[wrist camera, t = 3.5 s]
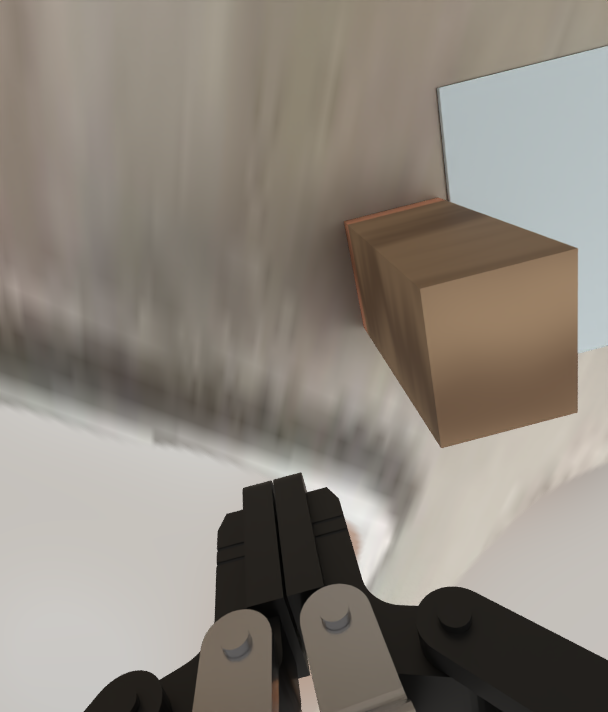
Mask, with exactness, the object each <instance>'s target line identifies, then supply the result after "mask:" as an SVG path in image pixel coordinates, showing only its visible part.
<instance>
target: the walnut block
mask: <svg viewBox="0 0 608 712" xmlns="http://www.w3.org/2000/svg"><path fill="white" fill-rule="evenodd" d="M344 225H345V230H346V235H347V241H348V246H349V251H350V256H351V262H352V267H353V272H354V278H355V283H356V288H357V294H358V299H359V304H360V310H361V315H362V320H363V326H364V328H365V330H366V331H367V333H368V335H369V336H370V338H371V339H372V341H373V342H374V344H375V346H376V347H377V349H378V350H379V352H380V353H381V355H382V356H383V358H384V360H385V361H386V363H387V364H388V366H389V367H390V369H391V371H392V372H393V374H394V375H395V377H396V378H397V380H398V381H399V383H400V385H401V386H402V388H403V389H404V391H405V392H406V394H407V396H408V397H409V399H410V400H411V402H412V403H413V405H414V406H415V408H416V410H417V411H418V413H419V414H420V416H421V417H422V419H423V420H424V422H425V424H426V425H427V427H428V428H429V430H430V431H431V433H432V435H433V436H434V438H435V439H436V441H437V442H438V444H439V445H440V447H441V448H444V447H448V446H452V445H456V444H459V443H463V442H467V441H471V440H475V439H478V438H482V437H486V436H490V435H494V434H497V433H501V432H505V431H509V430H513V429H516V428H520V427H524V426H528V425H532V424H535V423H539V422H543V421H547V420H551V419H554V418H558V417H562V416H566V415H570V414H573V413H577V410H578V248H576V247H573V246H570V245H568V244H565V243H562V242H559V241H557V240H554V239H551V238H548V237H546V236H543V235H540V234H537V233H535V232H532V231H529V230H526V229H524V228H521V227H518V226H515V225H513V224H510V223H507V222H504V221H501V220H499V219H496V218H493V217H490V216H488V215H485V214H482V213H479V212H477V211H474V210H471V209H468V208H466V207H463V206H460V205H457V204H455V203H452V202H449V201H446V200H444V199H441V198H434V199H430V200H426V201H422V202H418V203H414V204H410V205H406V206H402V207H398V208H395V209H391V210H387V211H383V212H379V213H375V214H371V215H367V216H363V217H359V218H355V219H351V220H347V221H344Z"/></svg>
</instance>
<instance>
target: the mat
mask: <svg viewBox="0 0 608 712" xmlns="http://www.w3.org/2000/svg"><path fill="white" fill-rule="evenodd" d="M437 95H438V104H439V114H440V124H441V134H442V144H443V154H444V164H445V173H446V183H447V193H448V201H449V202H452V203H455V204H457V205H460V206H463V207H466V208H468V209H471V210H474V211H477V212H479V213H482V214H485V215H488V216H490V217H493V218H496V219H499V220H501V221H504V222H507V223H510V224H513V225H515V226H518V227H521V228H524V229H526V230H529V231H532V232H535V233H537V234H540V235H543V236H546V237H548V238H551V239H554V240H557V241H559V242H562V243H565V244H568V245H570V246H573V247H576V248H578V353H582V352H586V351H590V350H593V349H597V348H601V347H605V346H608V46H605V47H601V48H597V49H593V50H589V51H585V52H581V53H577V54H573V55H569V56H565V57H561V58H557V59H553V60H549V61H545V62H541V63H537V64H533V65H529V66H525V67H521V68H517V69H512V70H508V71H504V72H500V73H496V74H492V75H488V76H484V77H480V78H476V79H472V80H468V81H464V82H460V83H456V84H452V85H448V86H444V87H440V88H437Z"/></svg>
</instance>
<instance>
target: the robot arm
mask: <svg viewBox="0 0 608 712" xmlns="http://www.w3.org/2000/svg"><path fill="white" fill-rule="evenodd" d="M273 484H274V485H273ZM217 550H218V552H217V568H216V599H215V622H214V624H213V625H212V626H211V628H210V629H209V630H208V632H207V633H206V635H205V637H204V639H203V642H202V646H201V651H200V652H199V654H197V655H196V656H195V657H194V658H193V659H192V660H191V661H189V662H188V663H186V664H185V665H183V666H182V667H180V668H179V669H177V670H175V671H174V672H172V673H170V674H169V675H167V676H165V677H164V678H162V679H160V680H158V678H157V677H156V676H155V675H154V674H152V673H150V672H147V671H142V670H140V671H132V672H128V673H126V674H123V675H121V676H119V677H118V678H116V679H114V680H113V681H112V682H110V683H109V684H108V685H107V686H106V687H105V688H104V689H103V690H102V691H101V692H100V693H99V694H98V695H97V696H96V698H95V699H94V700H93V701H92V703H91V704H90V705H89V706H88V707H87V708H86V710H85V711H84V712H302V710H301V698H300V690H299V681H298V679H299V678H302V677H306V676H309V675H310V672H309V665H310V670H311V674H312V679H313V683H314V688H315V692H316V696H317V700H318V705H319V710H320V712H608V660H606V659H604V658H602V657H600V656H599V655H596V654H594V653H592V652H591V651H588V650H587V649H585V648H583V647H581V646H579V645H577V644H575V643H573V642H571V641H569V640H567V639H565V638H563V637H561V636H560V635H558V634H556V633H554V632H552V631H550V630H548V629H546V628H544V627H542V626H540V625H538V624H536V623H534V622H532V621H530V620H528V619H526V618H524V617H522V616H520V615H518V614H516V613H514V612H512V611H511V610H509V609H507V608H505V607H503V606H501V605H499V604H497V603H495V602H493V601H491V600H489V599H487V598H485V597H483V596H481V595H479V594H477V593H476V592H473V591H471V590H469V589H465V588H461V587H444V588H440V589H437V590H435V591H433V592H431V593H429V594H428V595H427V596H426V597H425V598H424V599H423V600H422V601H421V603H420V604H419V606H405V605H394V604H390V603H386V602H384V601H381V600H380V599H378V598H376V597H375V596H374V595H372V594H371V593H370V592H369V591H368V589H367V588H366V586H365V585H364V583H363V580H362V577H361V573H360V570H359V567H358V563H357V560H356V556H355V553H354V549H353V546H352V542H351V540H350V536H349V532H348V529H347V525H346V522H345V518H344V515H343V511H342V508H341V504H340V501H339V498H338V497H337V496H335V495H334V494H333V493H332V492H331V491H330V490H329V489H328V488H327V487H325V488H322V489H318V490H314V491H310V492H307V490H306V486H305V483H304V479H303V476H302V473H297V474H293V475H289V476H286V477H282V478H278V479H274V480H273V483H272V481H267V482H264V483H260V484H256V485H253V486H249V487H245V488H243V510H240V511H237V512H232V513H229V514H226V516H225V518H224V520H223V522H222V524H221V526H220V528H219V530H218V538H217ZM308 661H309V664H308Z"/></svg>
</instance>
